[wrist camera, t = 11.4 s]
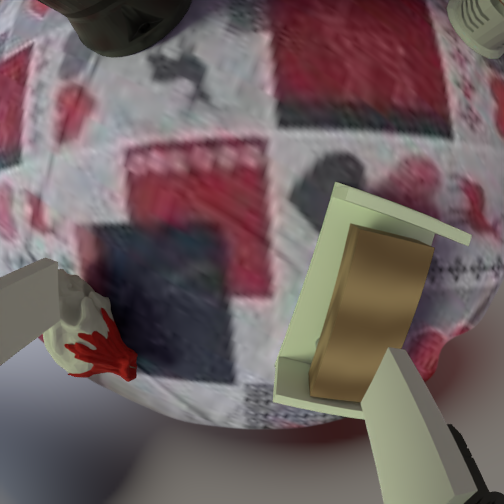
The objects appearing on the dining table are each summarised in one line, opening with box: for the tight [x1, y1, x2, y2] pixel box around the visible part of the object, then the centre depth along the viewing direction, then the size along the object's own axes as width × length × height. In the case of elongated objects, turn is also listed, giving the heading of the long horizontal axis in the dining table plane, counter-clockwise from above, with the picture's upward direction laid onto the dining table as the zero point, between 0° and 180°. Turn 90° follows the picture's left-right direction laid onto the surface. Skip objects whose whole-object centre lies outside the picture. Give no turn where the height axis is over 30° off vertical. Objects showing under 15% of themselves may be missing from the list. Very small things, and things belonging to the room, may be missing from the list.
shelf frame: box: [273, 182, 472, 419], centre depth 28 cm, size 21×12×8 cm, turn 165°
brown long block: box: [308, 223, 435, 402], centre depth 26 cm, size 16×7×4 cm, turn 170°
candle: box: [43, 269, 137, 382], centre depth 32 cm, size 9×11×15 cm
